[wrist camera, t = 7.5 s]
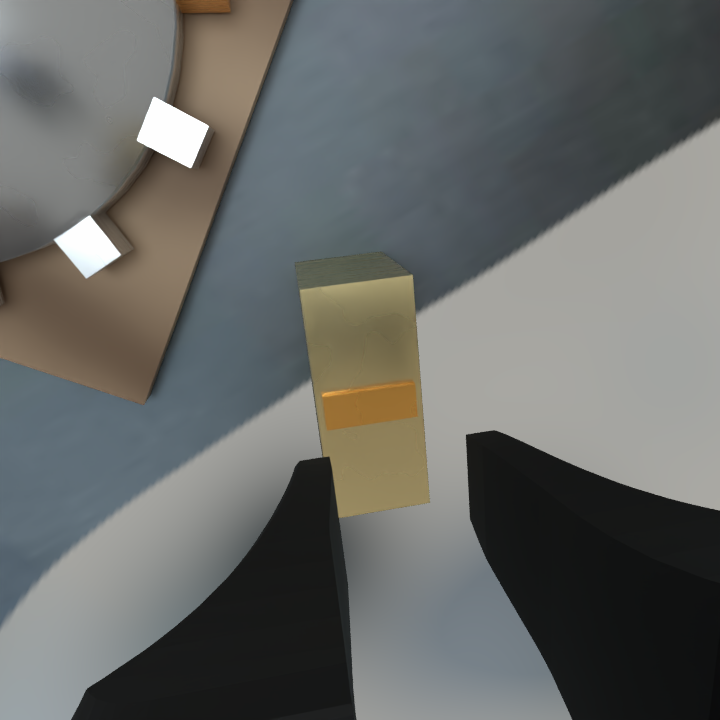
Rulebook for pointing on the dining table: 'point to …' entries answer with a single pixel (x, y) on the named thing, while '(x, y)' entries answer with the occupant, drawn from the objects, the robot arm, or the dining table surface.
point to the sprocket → (87, 117)
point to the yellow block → (366, 379)
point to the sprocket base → (146, 226)
